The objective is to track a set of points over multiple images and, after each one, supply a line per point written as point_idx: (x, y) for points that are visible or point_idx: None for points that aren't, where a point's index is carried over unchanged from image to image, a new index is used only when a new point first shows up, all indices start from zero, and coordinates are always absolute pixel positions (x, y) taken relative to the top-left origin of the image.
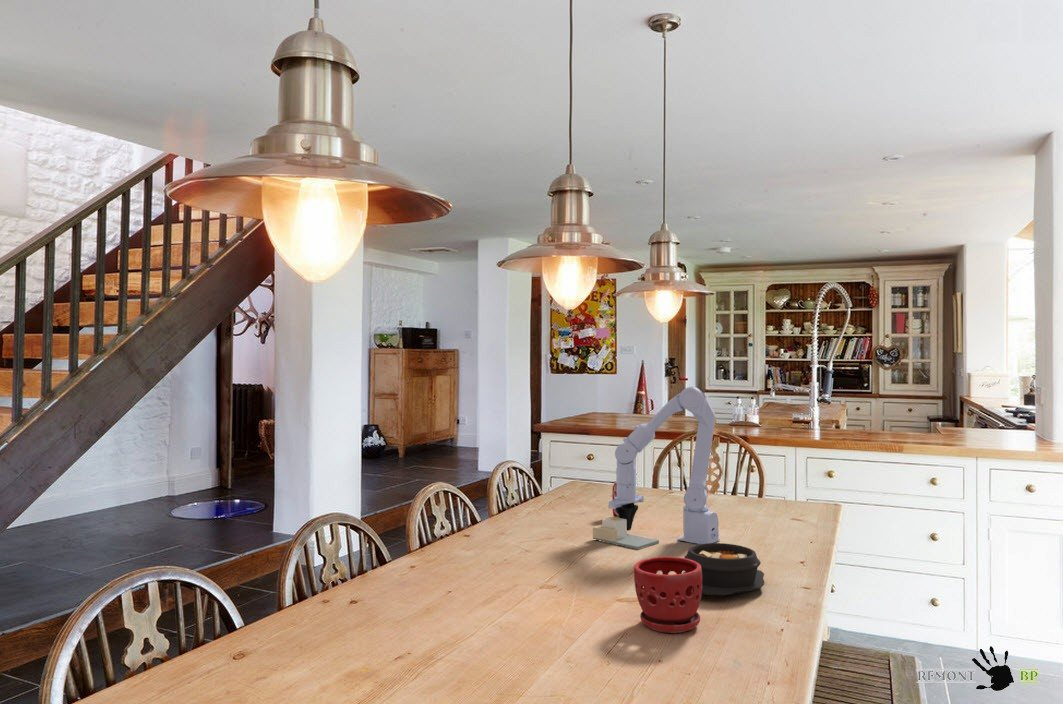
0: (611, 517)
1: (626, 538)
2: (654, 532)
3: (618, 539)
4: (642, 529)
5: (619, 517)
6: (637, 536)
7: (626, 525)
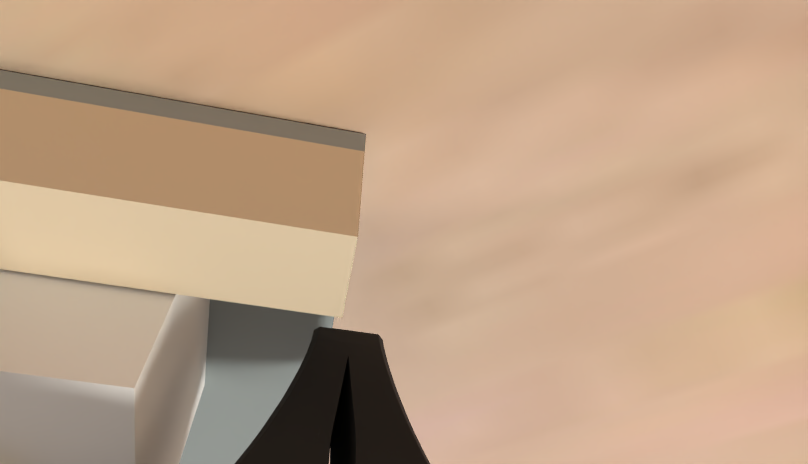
0: (60, 388)
1: None
2: (684, 442)
3: None
4: (802, 304)
5: (248, 446)
6: None
7: None
